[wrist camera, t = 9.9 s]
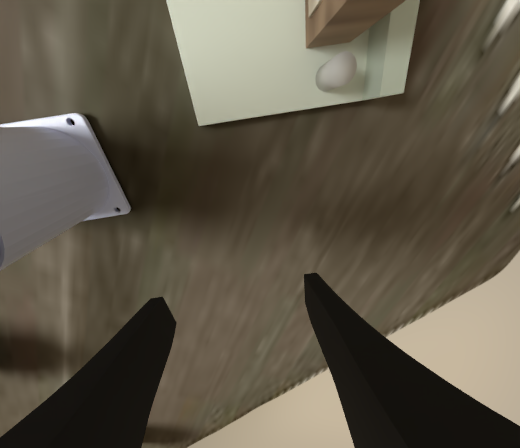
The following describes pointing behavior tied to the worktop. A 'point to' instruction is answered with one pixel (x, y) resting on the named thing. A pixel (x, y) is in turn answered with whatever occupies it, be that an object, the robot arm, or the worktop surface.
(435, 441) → the robot arm
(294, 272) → the worktop surface
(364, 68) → the ledge board
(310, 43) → the brown tapered block
